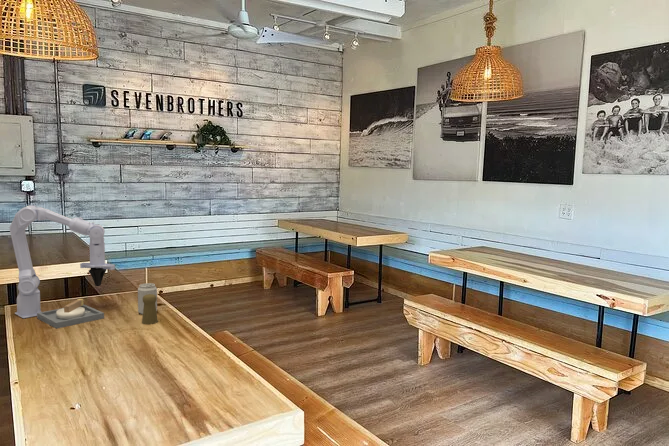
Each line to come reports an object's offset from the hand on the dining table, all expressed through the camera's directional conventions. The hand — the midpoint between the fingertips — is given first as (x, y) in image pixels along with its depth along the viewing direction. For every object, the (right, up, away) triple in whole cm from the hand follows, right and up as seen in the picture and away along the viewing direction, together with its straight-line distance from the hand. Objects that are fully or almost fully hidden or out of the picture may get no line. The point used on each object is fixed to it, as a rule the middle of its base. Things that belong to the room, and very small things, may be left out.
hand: (98, 285), depth 211 cm
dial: (-5, -10, -10) cm, 15 cm away
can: (+21, -11, -1) cm, 24 cm away
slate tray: (-5, -12, -11) cm, 17 cm away
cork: (+27, -13, -13) cm, 32 cm away
